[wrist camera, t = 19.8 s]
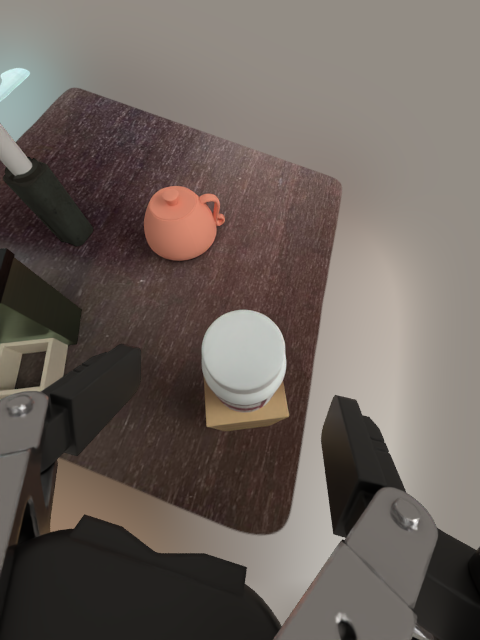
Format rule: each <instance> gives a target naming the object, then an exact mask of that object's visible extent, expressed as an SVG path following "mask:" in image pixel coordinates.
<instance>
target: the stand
mask: <svg viewBox="0 0 480 640" xmlns="http://www.w3.org/2000/svg"><path fill="white" fill-rule="evenodd" d="M204 389H205V407H206V424H207V427H210V428H214V429H218V430H222V431H232V430H240V429H248V428H256V427H264V426H270V425H272V424H274V423H276V422H278V421H281V420H283V419H285V418H287V417H289V413H288V407H287V402H286V396H285V390H284V385H283V381H282V383H281V385H280V386H279V388H278V389H277V391H276V392H275V393H274V395H273V397H272V398H271V399H270V401H269V402H268V403H267V404H266V405H265V406H263V407H262V408H261V409H259V410H256V411H253V412H248V413H242V412H237V411H234V410H231V409H229V408H228V407H226V406H225V405H224V404H223V403H222V402H221V401H220V400H219V399H218V397H217V396H216V395H215V393H214V392H213V391H212V390H211V389H210V387H209V386H208V384H207V382H206V380H205V377H204Z"/></svg>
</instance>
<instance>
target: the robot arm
mask: <svg viewBox="0 0 480 640" xmlns="http://www.w3.org/2000/svg"><path fill="white" fill-rule="evenodd" d="M140 380H141V350H140V348H138V347H134V346H129V345H125V344H119V345H118V346H116V347H115V348H114V349H112V350H111V351H109V352H108V353H107V352H105V353H102V354H99V355H96V356H94V357H92V358H90V359H89V360H87V361H86V362H84V363H83V364H82V365H80V366H78V367H77V368H75V369H74V370H73V371H71V372H69V373H68V374H66V375H65V376H63V377H62V378H60V379H59V380H57V381H56V382H54V383H53V384H51V385H50V386H48V387H47V388H45V389H44V390H42V391H41V392H39V391H24V392H19V393H15V394H12V395H9V396H7V397H4V398H2V399H1V400H0V640H429V639H428V638H427V637H426V635H425V634H424V633H423V632H422V631H421V630H420V629H419V627H418V626H417V625H416V623H417V624H418V625H420V626H421V627H422V628H424V629H425V630H427V631H428V632H430V633H431V634H432V635H433V637H434V640H480V547H479V548H478V549H477V550H475V549H473V548H471V547H470V546H468V545H466V544H464V543H462V542H461V541H459V540H457V539H455V538H453V537H452V536H450V535H448V534H446V533H444V532H443V531H441V530H440V529H438V528H437V527H436V524H435V522H434V520H433V518H432V517H431V515H430V514H429V512H428V511H427V510H426V509H425V508H424V506H422V504H420V503H419V502H418V501H417V500H416V499H415V498H413V497H412V496H410V495H409V494H407V493H406V491H405V488H404V486H403V484H402V481H401V479H400V476H399V474H398V472H397V470H396V467H395V465H394V462H393V460H392V458H391V455H390V454H389V453H388V452H389V451H388V448H387V446H386V444H385V443H384V439H383V436H382V434H381V432H380V429H379V428H378V427H377V425H376V424H375V423H374V422H373V421H372V420H371V419H370V417H367V416H363V415H362V414H361V411H360V408H359V405H358V403H357V401H356V400H354V399H350V398H346V397H341V396H337V395H335V396H334V397H333V400H332V402H331V405H330V408H329V411H328V414H327V417H326V419H325V422H324V425H323V429H322V436H321V444H322V451H323V459H324V466H325V474H326V482H327V489H328V497H329V504H330V512H331V520H332V527H333V534H335V535H338V536H342V537H345V538H346V539H345V540H342V541H341V542H340V543H339V544H338V546H337V547H336V548H335V550H334V552H333V553H332V554H331V556H330V557H329V559H328V560H327V562H326V563H325V565H324V566H323V567H322V569H321V570H320V572H319V573H318V575H317V576H316V578H315V579H314V581H313V582H312V583H311V585H310V586H309V588H308V589H307V591H306V592H305V594H304V595H303V597H302V598H301V599H300V601H299V602H298V604H297V605H296V607H295V608H294V610H293V611H292V613H291V614H290V616H289V617H288V618H287V620H286V621H285V623H284V624H283V626H281V624H280V622H279V621H278V619H277V618H276V616H275V615H274V613H273V612H272V610H271V609H270V608H269V606H268V605H267V604H266V603H265V602H264V600H263V599H262V598H261V597H260V596H259V595H258V594H257V593H256V592H255V591H254V590H252V589H251V588H250V587H249V586H247V585H246V584H245V577H246V569H247V567H244V566H241V565H238V564H235V563H232V562H229V561H226V560H223V559H220V558H217V557H214V556H211V555H208V554H204V553H203V554H202V553H201V554H199V553H198V554H197V553H196V554H195V553H190V554H189V553H188V554H187V553H185V554H184V553H182V554H181V553H180V554H177V553H168V554H167V553H165V554H164V553H157V552H155V551H153V550H152V549H150V548H149V547H148V546H146V545H145V544H144V543H143V542H141V541H140V540H139V539H137V538H136V537H135V536H134V535H132V534H131V533H129V532H128V531H127V530H126V529H124V528H123V527H122V526H119V525H115V524H112V523H109V522H106V521H103V520H100V519H97V518H94V517H91V516H87V515H84V516H83V517H82V518H81V520H80V521H79V523H78V524H77V525H76V527H75V528H74V529H66V530H58V531H55V532H50V519H51V510H52V503H53V495H54V488H55V481H56V473H57V466H58V463H57V459H58V458H59V457H60V456H61V455H62V454H63V453H68V454H71V455H74V456H78V455H79V454H80V453H81V452H82V451H83V449H84V448H85V447H86V446H87V445H88V444H89V443H90V442H91V441H92V440H93V439H94V438H95V436H96V435H97V434H98V433H99V432H100V431H101V430H102V429H103V428H104V427H105V426H106V425H107V423H108V422H109V421H110V420H111V419H112V418H113V417H114V416H115V415H116V414H117V413H118V412H119V410H120V409H121V408H122V407H123V406H124V405H125V404H126V403H127V402H128V401H129V400H130V399H131V397H132V396H133V395H134V394H135V393H136V391H137V390H138V387H139V385H140Z"/></svg>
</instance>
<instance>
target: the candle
mask: <svg viewBox="0 0 480 640" xmlns="http://www.w3.org/2000/svg"><path fill="white" fill-rule="evenodd" d="M0 160H1V161H2V162H3V163H4V164H5V166H6V168H5V175H4V176H3V180H4V181H5V182H6V183H7V185H8V186H9V187H10V188H11V189H12V190H13V191H14V192H15V193H16V194H17V195H18V196H19V197H20V198H21V199H22V200H23V201H24V203H25V204H26V205H27V206H28V207H29V208H30V209H31V210H32V211H33V212H34V213H35V214H36V215H37V216H38V217H39V218H40V219H41V221H42V222H43V223H44V224H45V225H46V226H47V227H48V228H49V229H50V230H51V231H52V232H53V233H54V234H55V235H56V236H57V237H58V238H59V240H60V241H61V242H67V243H70V244H73V245H74V246H81V245H82V244H84V242H85V241H86V240H87V238H88V237H89V236H90V235H91V233H92V232H93V227H92V226H91V224H90V223H89V222H88V220H87V219H86V217H85V216H84V215H83V213H82V212H81V211H80V209H79V208H78V207H77V205H76V204H75V202H74V201H73V200H72V198H71V197H70V196H69V194H68V193H67V191H66V190H65V189H64V187H63V186H62V185H61V183H60V182H59V181H58V179H57V178H56V176H55V175H54V174H53V172H52V171H51V170H50V168H49V167H48V166H47V165H46V164H45V163H42V162H38V161H37V160H36V159H35V158H33V159H31V158H30V157H26V155H25V154H24V153H23V152H22V150H21V149H20V148H19V146H18V145H17V144H16V143H15V141H14V140H13V139H12V138H11V136H10V135H9V134H8V132H7V131H6V130H5V129H4V127H3V126H2V125H1V124H0Z"/></svg>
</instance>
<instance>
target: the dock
mask: <svg viewBox="0 0 480 640" xmlns="http://www.w3.org/2000/svg"><path fill="white" fill-rule="evenodd" d="M67 349H68V345H66V344H64V343H62V342H60V341H59V340H57V339H55V338H46V339H37V340H28V341H19V342H10V343H1V344H0V399H2V398H4V397H7V396H9V395H12V394H15V393H19V392H24V391H39V392H41V391H42V390H44V389H45V388H47V387H48V386H50V385H51V384H53V383H54V382H56V381H57V380H59V379H60V378H62V377H63V374H64V368H65V362H66V356H67ZM44 351H47V352H46V357H45V363H44V368H43V373H42V378H41V384H40V387H31V388H22V389H15V385H16V380H17V376H18V371H19V367H20V363H21V358H22V354H26V353H35V352H44Z"/></svg>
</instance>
